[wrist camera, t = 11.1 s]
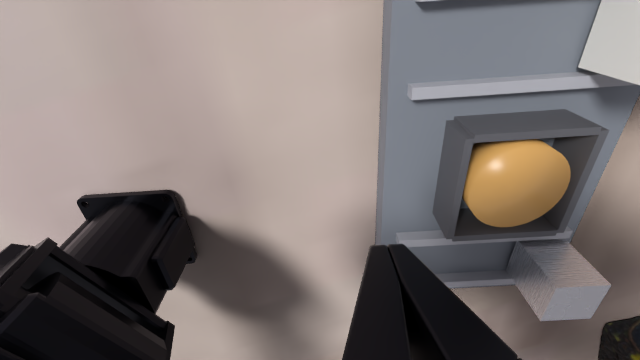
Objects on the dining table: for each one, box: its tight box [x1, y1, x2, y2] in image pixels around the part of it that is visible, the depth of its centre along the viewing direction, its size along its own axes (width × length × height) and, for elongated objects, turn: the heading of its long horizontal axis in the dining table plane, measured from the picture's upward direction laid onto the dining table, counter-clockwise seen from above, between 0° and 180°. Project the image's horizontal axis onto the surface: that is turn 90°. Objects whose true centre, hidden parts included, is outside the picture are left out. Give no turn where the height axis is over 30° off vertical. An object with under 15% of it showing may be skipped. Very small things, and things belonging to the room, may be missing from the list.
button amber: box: [462, 139, 571, 227], centre depth 17 cm, size 5×5×2 cm
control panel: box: [375, 0, 640, 289], centre depth 16 cm, size 13×28×4 cm, turn 4°
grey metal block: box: [506, 238, 611, 321], centre depth 20 cm, size 3×3×4 cm
